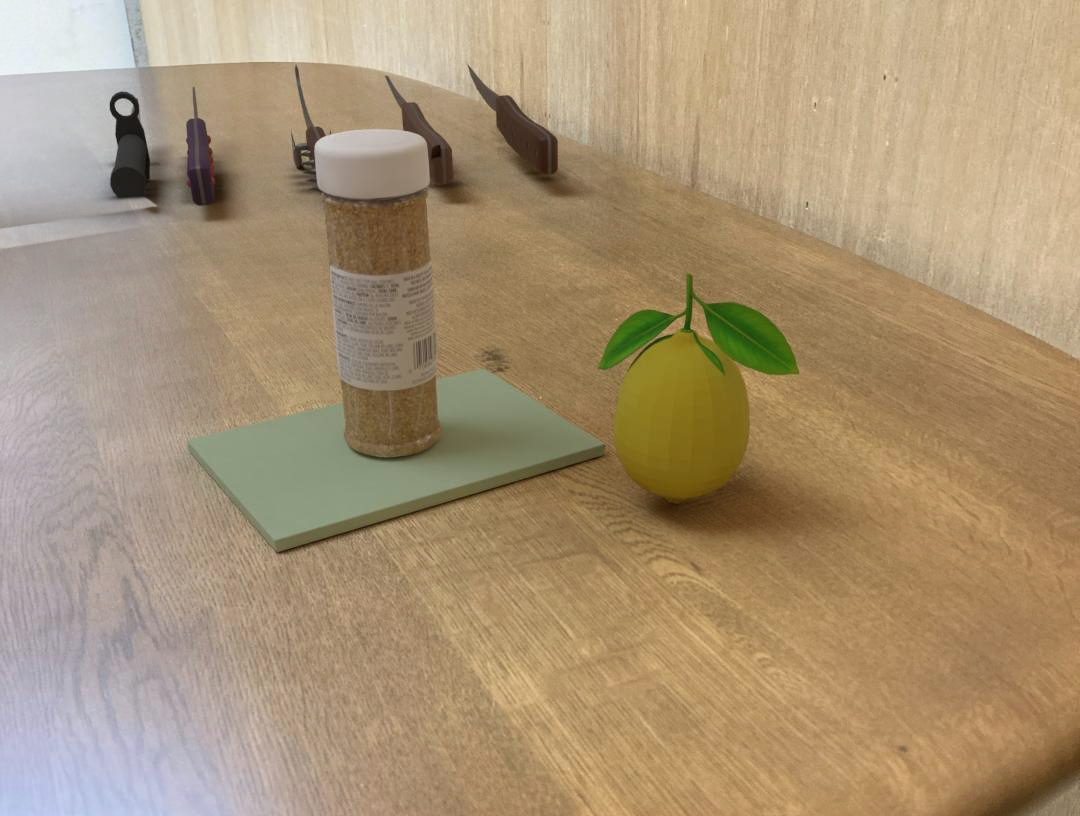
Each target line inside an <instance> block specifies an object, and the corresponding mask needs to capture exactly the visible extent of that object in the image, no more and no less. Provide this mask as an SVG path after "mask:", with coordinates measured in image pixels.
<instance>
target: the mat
mask: <svg viewBox="0 0 1080 816" xmlns="http://www.w3.org/2000/svg"><path fill="white" fill-rule="evenodd" d="M436 392H437V405H438V420H439V421H440V425H441V435H440V437H439V439H438V440H437V441H436V442H435V443H434V444H433V445H432V446H430V447H429V448H428V449H426V450H424V451H422V452H419V453H415V454H412V455H408V456H399V457H377V456H371V455H368V454H364V453H361V452H358V451H356V450H354V449H353V448H351V447H350V446H349V445H348V444H347V442H346V440H345V439H344V426H345V415H344V408H343V401H341V402H338V403H334V404H330V405H325V406H321V407H317V408H312V409H309V410H305V411H299V412H295V413H292V414H288V415H287V414H286V415H284V416H280V417H279V416H278V417H275V418H271V419H267V420H262V421H259V422H254V423H250V424H246V425H242V426H238V427H234V428H229V429H225V430H222V431H217V432H213V433H209V434H205V435H200V436H196V437H191V438H188V439H186V444H187V450H188V452H189V453H190V455H192V456H193V457H194V458H195V460H196V461H197V462H198V463H199V464H200V466H201V467H202V468H203V470H205V471H206V473H207V474H208V475H209V476H210V477H211V478H212V480H213V481H214V482H215V483H216V484H217V485H218V486H219V487H220V489H221V490H222V491H223V492H224V493H225V495H226V496H227V497H228V498H229V499H230V500H231V501H232V503H233V504H234V505H235V506H236V507H237V508H238V509H239V511H240V512H241V513H242V515H244V517H245V518H246V519H247V520H248V521H249V522H250V524H251V525H252V526H253V527H254V528H255V529H256V530H257V531H258V533H259V534H260V535H261V536H262V538H263V539H264V540H265V541H266V542H267V543H268V544H269V545H270V546H271V547H272V549H273V551H275V552H276V553H280V552H283V551H287V550H289V549H294V548H296V547H300V546H304V545H307V544H310V543H314V542H316V541H321V540H324V539H327V538H330V537H333V536H337V535H340V534H341V535H342V534H344V533H347V532H351V531H354V530H357V529H360V528H364V527H367V526H370V525H373V524H377V523H380V522H384V521H387V520H391V519H394V518H397V517H402V516H404V515H407V514H411V513H415V512H418V511H421V510H425V509H427V508H430V507H434V506H437V505H441V504H444V503H447V502H451V501H454V500H458V499H461V498H465V497H468V496H470V495H475V494H478V493H481V492H484V491H489V490H491V489H494V488H497V487H501V486H505V485H508V484H511V483H515V482H518V481H522V480H525V479H529V478H532V477H535V476H539V475H541V474H546V473H548V472H551V471H555V470H558V469H561V468H565V467H569V466H573V465H575V464H579V463H582V462H586V461H589V460H592V459H595V458H598V457H602V456H604V455H605V453H606V444H605V442H603V441H601V440H599V439H598V438H597V437H595V436H594V435H591V434H590V433H589V432H587V431H586V430H584V429H582V428H581V427H579V426H577V425H576V424H574V423H573V422H571V421H569V420H567V419H566V418H565V417H563V416H561V415H560V414H558V413H557V412H555V411H553V410H552V409H550V408H549V407H547V406H545V405H544V404H542V403H540V402H539V401H538V400H536V399H534V398H533V397H531V396H529V395H528V394H527V393H525V392H523V391H522V390H519V389H518V388H516V387H515V386H513V385H512V384H510V383H508V382H507V381H505V380H503V378H500V377H499V376H498V375H497V374H494V373H493V372H491V371H489V370H487V369H486V368H479V369H475V370H470V371H467V372H462V373H459V374H454V375H451V376H446V377H442V378H436Z"/></svg>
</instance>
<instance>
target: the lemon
mask: <svg viewBox="0 0 1080 816" xmlns="http://www.w3.org/2000/svg"><path fill="white" fill-rule="evenodd" d="M693 281H694V277H693V275H692V274H691V273H686V303H685V305H686V306H685V309H684V310H683V311H682V312H680V313H677V314H675V315H674V314H671V313H667V312H663V311H659V310H656V309H642V310H639V311H636V312H634V313H632V314H630V315H629V316H628V317H627V318H626V319H625V320H624V321H623V322H622V323H621V324H619V325H618V327H617V329H616V330H615V331H614V333H613V334H612V335H611V337H610V339H609V341H608V343H607V344H606V347H605V349H604V351H603V354H602V356H601V359H600V361H599V363H598V366H597V369H598V370H604V371H605V370H609V369H611V368H613V367H616V366H617V365H619V364H620V363H622V362H624V361H625V360H626V359H627V358H629V357H631V356H632V355H633V354H634V353H636V352H637V351H639V350H641V348H643V347H644V346H645V347H644V348H643V349H642V350H641V351H640V352H639V353H638V354H637V356H636V357H635V359H634V360H633V361H632V363H631V364H630V366H629V368H628V369H627V371H626V373H625V375H624V377H623V379H622V383H621V385H620V388H619V392H618V396H617V401H616V408H615V413H614V421H613V441H614V442H613V444H614V447H615V453H616V456H617V458H618V460H619V462H620V464H621V466H622V468H623V470H624V471H625V473H626V474H627V476H628V477H629V478H630V480H631V481H632V482H633V483H634V484H636V485H637V486H639V487H640V488H641V489H643V490H645V491H647V492H649V493H650V494H654V495H656V496H658V497H662V498H665V500H666V501H667V502H669V503H671V504H677V505H679V504H681V503H683V502H684V501H686V500H687V499H688V500H689V499H695V498H699V497H702V496H705V495H708V494H711V493H713V492H715V491H717V490H719V489H720V488H722V487H724V486H725V485H726V484H727V483H728V482H729V481H730V480H731V479H732V477H733V476H734V475H735V473H736V471H737V470H738V468H739V466H740V465H741V463H742V462H743V458H744V457H745V453H746V451H747V447H748V443H749V438H750V430H751V429H750V427H751V422H750V419H751V418H750V404H749V403H750V402H749V395H748V390H747V385H746V382H745V378H744V377H743V374H742V372H741V370H740V368H739V366H738V364H739V365H741V366H743V367H744V368H747V369H749V370H750V369H751V370H752V371H756V372H758V373H762V374H765V375H768V376H769V375H770V376H771V375H772V376H786V375H800V370H799V368H798V363H797V360H796V356H795V354H794V352H793V350H792V347H791V346H790V343H789V342H788V340H787V338H786V336H785V335H784V334H783V333H782V331H781V330H780V329H779V328H778V326H777V325H776V324H775V323H773V321H771V320H770V319H769V318H768V317H767V316H766V315H765V314H763V312H761V311H758V310H756V309H754V308H752V307H750V306H748V305H745V304H742V303H738V302H737V303H736V302H733V301H728V302H727V301H725V302H712V303H711V302H709V303H708V302H704V301H703V300H701V299H700V298H699V297H698V296H697V295H696V293H695V292H694V289H693V288H694V287H693ZM694 300H695V301H696V302H697V303H698V304H699V305H700V306H701V307H702V310H703V314H704V317H705V322H706V326H707V329H708V333H709V334H710V336H711V338H708V337H705V336H702V335H700V334H699V333H698V331H697V330H695V329H693V328H691V324H692V316H693V301H694ZM683 316H685V318H684V324H683V327H681V328H679V329H677V330H676V332H675V333H672V334H667V335H663V336H660V337H658V336H659V335H660V334H661V333H662V332H664V331H665V330H666V329H667V328H668V327H670V325H671V324H672V323H673V322H675V321H677V320H678V319H680V318H682V317H683ZM656 337H658V338H656ZM651 341H652V342H651ZM647 344H648V345H647Z"/></svg>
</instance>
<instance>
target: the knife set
mask: <svg viewBox="0 0 1080 816" xmlns="http://www.w3.org/2000/svg"><path fill="white" fill-rule="evenodd" d="M466 65H467V68H468V72H469V75H470V77H471V79H472V82H473V84H474V86H475V89H476V90H477V91H478V93H479V95H480V96H481V97H482V99H483V100H484V102H485V103H486V104H487V106H488V107H489V108H491V109H492V111H494V112H495V120H496V121H495V122H496V123H495V124H496V128H497V130H498V131H499V132H500V134H501V135H502V137H503V139H504V140H505V142H506V144H507V145H508V146H509V147H510V148H511V149H512V150H513V151H514V152H515V153H516V154H518V155H519V156H520V158H522V159H524V160H526V161H527V162H529V164H531V165H532V166H533V167H534V168H535V169H536V170H537V171H538V172H539V173H540V174H542V175H544V176H548V175H554V174H555V173H557V171H558V169H559V140H558V138H557V137H556V136H555V135H554V134H553V133H552V132H551V131H550V130H548V129H547V128H546V127H544V126H542V125H540V124H539V123H537V122H535V121H534V120H533V119H532V118H530V117H529V116H528V115H527V114H525V113H524V112H523V110H522V109H521V108H520V106H519V105H518V103H517V102H516V100H515V99H514V98H513V97H512V96H511V95H509V94H506V95H505V94H504V95H499V94H498V93H496V92H495V91H494V90H493V89H491V88H490V87H489V86H487V85H486V84H485V83H484V82H483V80H482V79H480V78H479V76H478V74H476V73H475V71H474V70H473V68H472V67H471V66H470V65H469V64H468V63H466ZM294 73H295V74H294V75H295V80H296V87H297V92H298V95H299V101H300V106H301V109H302V115H303V118H304V122H305V126H306V130H305V139H306V141H305V142H303V143H298V144H296V143H295V139H294V136H293V132H292V130H290V132H291V133H290V135H291V146H292V159H293V163H294V165H295V167H296V168H298V169H299V168H301V167H302V166H307V167H311V169H309V170H306V171H303V172H302V174H307V175H313V176H314V177H312V178H309V179H306V180H305V182H308V183H309V182H310V183H316V184H317V176H316V164H315V152H314V149H315V144H316V142H317V141H318V140H320V139H321V138H323V137H325V136H327V135H326V133H325V130H324V129H323V127H321V126H314V124H313V121H312V119H311V116H310V113H309V111H308V107H307V105H306V101H305V97H304V93H303V89H302V85H301V79H300V72H299V68H298V66H297V64H295V67H294ZM384 78H385V80H386V82H387V85H388V87H389V89H390V91H391V93H392V95H393V97H394V99H395V101H396V103H397V105H398V106H399V109H401V118H402V119H401V120H402V121H401V122H402V131H408V132H412V133H415V134H418V135H420V136H422V137H423V138H424V139H425V141H426V143H427V148H428V160H429V175H430V176H431V177H432V179H433V180H434V182H435V183H436V184H438V185H448V184H450V183H451V182H453V180H454V166H453V165H454V164H453V149H452V147H451V146H450V144H449V143H448V141H447V140H446V139H445V138H444V137H443V136H442V135H441V134H440V133H439V132H438V131H436V130H435V129H434V128H433V126H432V125H431V124H430V123H429V122H428V121H427V119H426V117H425V115H424V113H423V112H422V110H421V107H420V106H419V104H418V103H417V102H415V101H410V102H409V101H408V102H407V101H406V99H405V98H404V96H402V95H401V94H400V92H399V91H398V90H397V88H396V86H395V85H394V83H393V82H392V80H391V78H390V77H389V75H384ZM196 95H197V94H196V88H195V86H192V105H193V118H189V119H187V121H186V123H185V126H186V139H185V142H186V144H187V151H186V154H187V159H186V161H187V168H186V176H187V178H188V179H187V180H186V185H187V186H188V188H190V192H191V198H192V201H193V203H194V205H197V206H198V207H203V206H210V205H212V204H213V203H214V201H215V190H214V186H215V185H216V179H215V177H214V176H215V166H214V157H213V153H214V151H213V149H212V148H211V147H210V144H211V142H212V137H211V136H210V135H209V134H208V130H207V125H206V121H205V120H204V119H203V118H201V117H199V114H198V113H199V112H198V103H197V102H198V101H197V96H196ZM122 99H125V100H126V101H127V100H128V101H129V102H130V103H131V104H132V108H131V110H130V114H129V115H123V114H121V113H119V111H117V109H116V103H117V102H118V101H119V100H122ZM109 112H110V114H111V116H112V117H113V118H114V119H115V132H114V134H115V141H116V145H117V148H116V149H117V151H116V155H115V163H114V167H113V168H112V170H111V172H110V177H109V180H110V181H109V184H110V188H111V190H112V193H113V194H115V196H116V197H117V198H119V199H121V198H122V199H123V198H138V197H143V196H144V194H145V192H146V189H147V181H150V178H151V176H150V175H151V158H150V154H149V153H150V152H149V148H148V143H147V138H146V132H145V129H144V126H143V125H142V122H141V121H142V120H141V111H140V103H139V98H138V97H136V96H134V94H132V93H130V92H128V91H123V90H121V91H118V92H115V93H114V94H113V95H112V96H111V98H110V100H109ZM331 134H332V131H331V129H329V135H331ZM303 151H304V152H303ZM302 157H308V159H309V160H307V161H305V162H303V158H302ZM307 190H308V191H313V192H314V191H315V192H319V193H320V192H321V193H320V194H322V193H323V191H321V190H320V189H319V188H318V185H316V186H313V187H311V188H307Z"/></svg>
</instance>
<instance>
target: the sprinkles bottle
mask: <svg viewBox="0 0 1080 816" xmlns="http://www.w3.org/2000/svg"><path fill="white" fill-rule="evenodd" d="M314 152H315V164H316V176H317V183H316V185H317V186H318V188H319V189H320V190H321V191H323V193H320V194H321V198H322V201H323V203H324V204H323V210H324V222H325V226H326V228H325V229H326V230H325V231H326V240H327V241H326V242H327V254H328V255H327V258H328V261H329V263H328V264H329V265H328V267H329V275H330V276H329V277H330V290H331V298H332V299H331V302H332V308H331V311H332V312H331V313H332V323H333V332H334V343H335V352H336V353H335V354H336V363H337V372H338V377H339V378H340V388H341V394H342V395H341V396H342V402H343V408H344V415H345V426H344V439H345V440H346V442H347V444H348V445H349V446H350V447H351V448H353V449H354V450H356V451H358V452H361V453H364V454H368V455H371V456H377V457H399V456H408V455H412V454H415V453H419V452H422V451H424V450H426V449H428V448H429V447H430V446H432V445H433V444H434V443H435V442H436V441H437V440H438V439H439V437H440V435H441V425H440V421H439V420H438V405H437V392H436V380H437V373H438V357H437V356H438V355H437V339H436V336H437V335H436V319H435V318H436V316H435V296H434V275H433V262H432V257H431V251H430V249H431V248H430V236H429V235H430V234H429V233H430V232H429V221H428V204H427V198H428V196H429V188H428V186H429V185H430V182H431V177H430V176H431V175H430V173H429V160H428V148H427V143H426V141H425V139H424V138H423V137H422V136H420V135H418V134H415V133H412V132H408V131H403V129H402V130H401V129H389V128H375V129H374V128H368V129H367V128H366V129H354V130H353V129H352V130H346V131H345V130H344V131H340V132H335V133H331V135H330V134H328V135H326V136H325V137H323V138H321V139H320V140H318V141H317V142H316V144H315V149H314Z"/></svg>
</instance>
